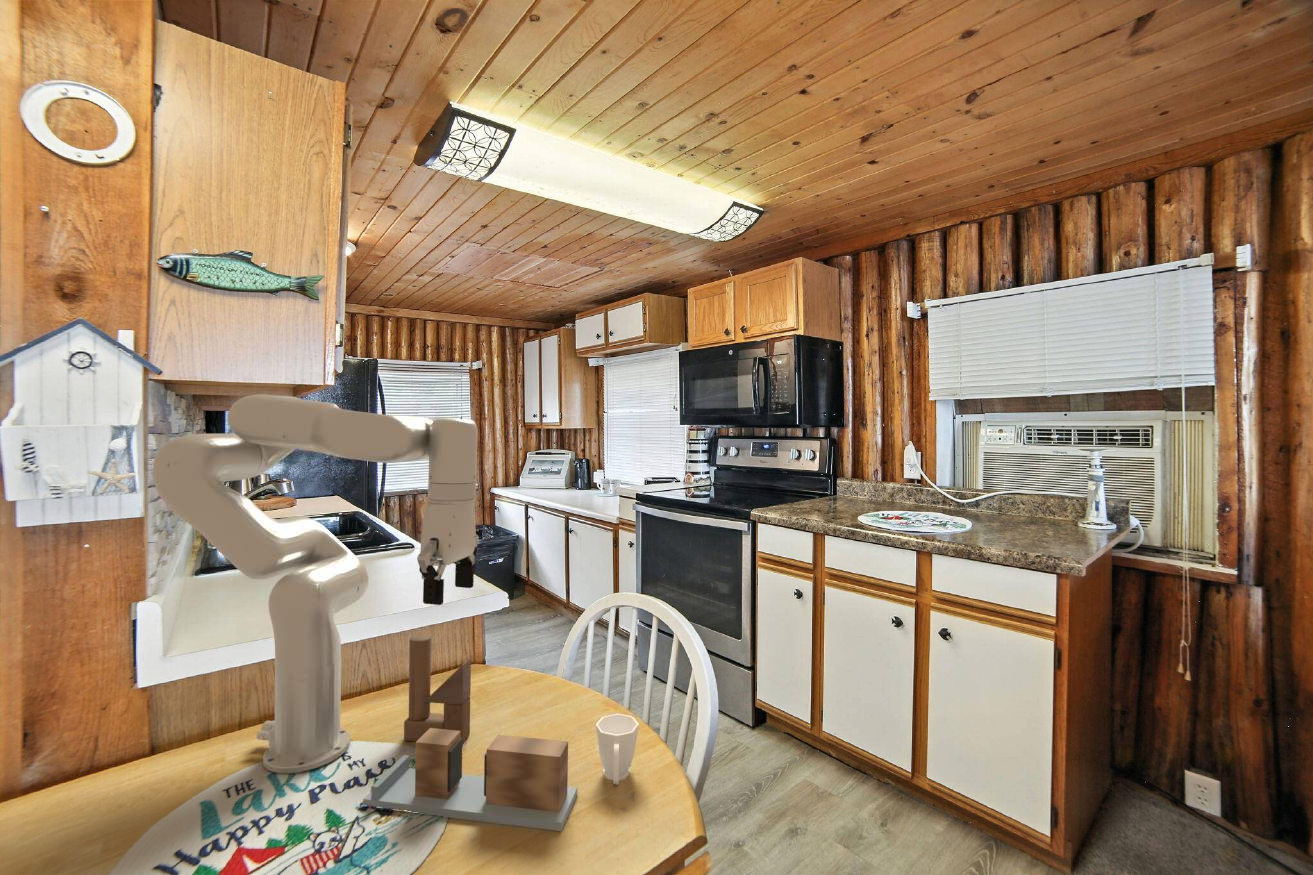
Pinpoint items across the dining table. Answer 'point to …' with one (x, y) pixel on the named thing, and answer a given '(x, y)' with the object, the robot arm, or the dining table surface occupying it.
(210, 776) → the dining table surface
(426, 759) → the brown rectangular block
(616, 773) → the cup
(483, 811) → the rail
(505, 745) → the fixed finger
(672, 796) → the dining table surface
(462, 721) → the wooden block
